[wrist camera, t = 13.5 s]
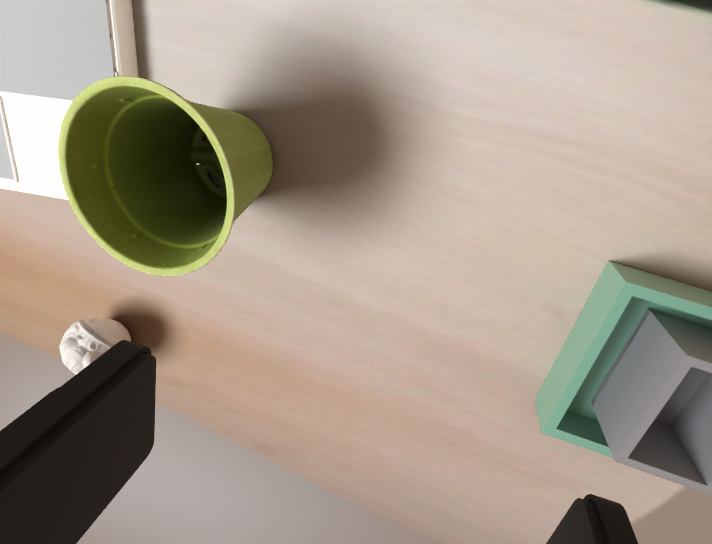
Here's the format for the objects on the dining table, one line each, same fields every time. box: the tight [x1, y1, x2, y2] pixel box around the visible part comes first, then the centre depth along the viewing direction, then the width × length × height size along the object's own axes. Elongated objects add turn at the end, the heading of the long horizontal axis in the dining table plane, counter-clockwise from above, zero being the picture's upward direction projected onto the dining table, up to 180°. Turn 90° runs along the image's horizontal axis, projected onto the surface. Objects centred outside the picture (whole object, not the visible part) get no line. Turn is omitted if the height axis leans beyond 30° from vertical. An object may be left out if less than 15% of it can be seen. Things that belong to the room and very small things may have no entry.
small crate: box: [591, 307, 712, 495], centre depth 31 cm, size 9×6×6 cm
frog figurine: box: [58, 318, 131, 374], centre depth 43 cm, size 6×7×7 cm
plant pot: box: [58, 76, 273, 276], centre depth 31 cm, size 12×12×11 cm
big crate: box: [535, 261, 712, 458], centre depth 33 cm, size 14×14×4 cm
